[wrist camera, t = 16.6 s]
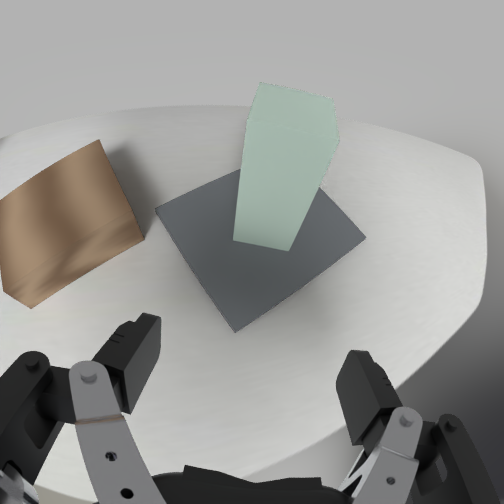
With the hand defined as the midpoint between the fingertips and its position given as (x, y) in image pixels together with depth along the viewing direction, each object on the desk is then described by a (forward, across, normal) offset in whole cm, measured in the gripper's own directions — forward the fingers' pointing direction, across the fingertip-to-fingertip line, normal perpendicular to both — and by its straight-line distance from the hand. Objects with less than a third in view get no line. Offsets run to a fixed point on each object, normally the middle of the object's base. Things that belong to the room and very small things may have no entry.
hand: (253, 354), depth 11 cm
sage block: (+13, 0, -3) cm, 13 cm away
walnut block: (+10, +17, 0) cm, 20 cm away
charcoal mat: (+13, 0, -3) cm, 14 cm away
